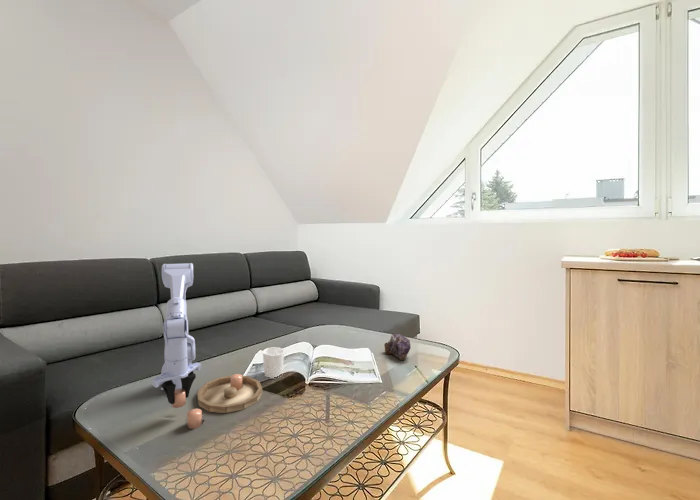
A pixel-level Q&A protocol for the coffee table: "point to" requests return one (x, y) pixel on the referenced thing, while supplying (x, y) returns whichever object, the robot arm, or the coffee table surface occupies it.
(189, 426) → the bead
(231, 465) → the coffee table surface
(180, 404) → the bead
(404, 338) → the rock
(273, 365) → the white cup
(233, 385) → the bead
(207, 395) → the ring tray
